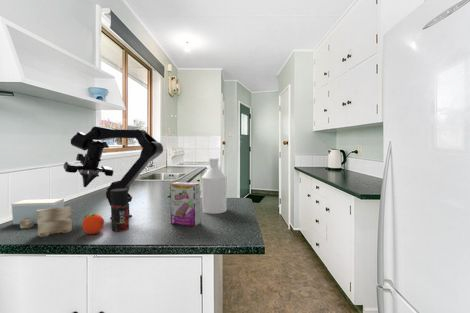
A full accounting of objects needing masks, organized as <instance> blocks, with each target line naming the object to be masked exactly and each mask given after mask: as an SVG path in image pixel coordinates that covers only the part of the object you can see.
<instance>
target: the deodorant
mask: <svg viewBox="0 0 470 313" xmlns="http://www.w3.org/2000/svg"><path fill="white" fill-rule="evenodd" d="M128 193H129V191H128V189H124V188H122V189H113V190H110V194H111V206H110V214H111V215H110V217H111V218H110V219H111V232H114V233H121V232H125V231H128V230H129V228H130V219H129V218H130V217H129V215H130V212H129V213H128V203H129V202H128Z"/></svg>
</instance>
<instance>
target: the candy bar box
mask: <svg viewBox="0 0 470 313" xmlns="http://www.w3.org/2000/svg"><path fill="white" fill-rule="evenodd" d="M169 192H170V194H169V195H170V196H169V197H170V199H169V200H170V202H169V203H170V224H172V225H180V226H188V227H196V226H198V225H199V224H201V184H200V183H198V182H197V183H196V182H185V181H184V182H183V181H176V182H171V183H170V184H169Z"/></svg>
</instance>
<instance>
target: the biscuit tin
mask: <svg viewBox="0 0 470 313" xmlns="http://www.w3.org/2000/svg"><path fill="white" fill-rule="evenodd" d="M58 207H65V198H47V199H46V198H45V199H44V198H41V199H40V198H39V199H23V200H20V201H16V202H13V203H11V214H12V225H20V220H23V219H25V218H34V225H35V224H37V225H38V222H37V210H42V209H50V208H58Z"/></svg>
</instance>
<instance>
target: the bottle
mask: <svg viewBox="0 0 470 313" xmlns="http://www.w3.org/2000/svg"><path fill="white" fill-rule="evenodd" d="M219 161H220V158H218V157H209V158H208V162H209V168H208V169H207V171H206V172H205V173H204V174H203V175H202V176H201V200H202V205H201V206H202V212H203V213H205V214H211V215H213V214H222V213H226V212H227V192H228V191H227V190H228V188H227V183H228V182H227V180H228V179H227V175H225V173H224V172H222V170H221V169H220V168H219Z"/></svg>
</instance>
